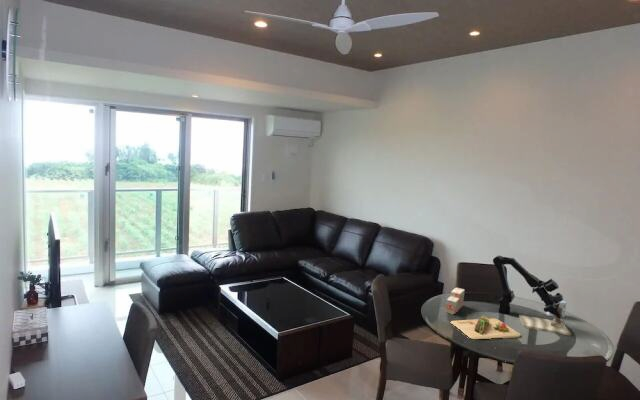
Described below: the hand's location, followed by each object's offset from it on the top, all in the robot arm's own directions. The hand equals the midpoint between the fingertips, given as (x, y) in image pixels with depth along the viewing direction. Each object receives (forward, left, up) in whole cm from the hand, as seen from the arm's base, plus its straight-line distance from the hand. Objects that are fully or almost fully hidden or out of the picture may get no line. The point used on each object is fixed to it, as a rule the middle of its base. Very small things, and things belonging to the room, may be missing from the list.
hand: (561, 317), depth 246 cm
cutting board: (-47, -23, -9) cm, 53 cm away
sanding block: (-1, +1, -6) cm, 6 cm away
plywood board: (-9, 0, -8) cm, 12 cm away
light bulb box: (+3, +24, -8) cm, 26 cm away
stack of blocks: (-64, +3, -8) cm, 64 cm away
